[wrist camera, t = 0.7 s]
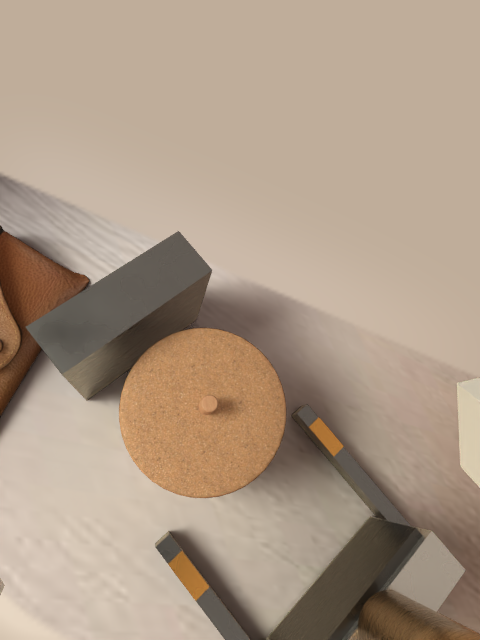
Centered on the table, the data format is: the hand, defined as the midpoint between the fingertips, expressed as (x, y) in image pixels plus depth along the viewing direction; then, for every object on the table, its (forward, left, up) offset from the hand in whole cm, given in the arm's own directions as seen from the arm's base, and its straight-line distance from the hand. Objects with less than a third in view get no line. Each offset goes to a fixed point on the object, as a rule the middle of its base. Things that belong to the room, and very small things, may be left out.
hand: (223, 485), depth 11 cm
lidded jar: (-2, +4, -23) cm, 23 cm away
